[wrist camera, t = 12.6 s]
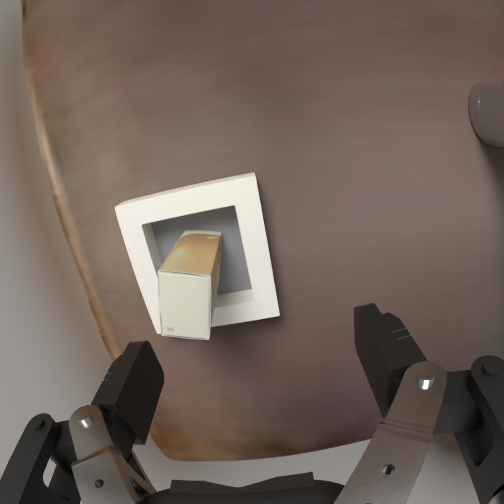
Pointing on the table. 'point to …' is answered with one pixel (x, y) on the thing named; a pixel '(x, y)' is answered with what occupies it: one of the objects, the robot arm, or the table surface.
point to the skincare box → (190, 285)
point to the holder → (211, 219)
